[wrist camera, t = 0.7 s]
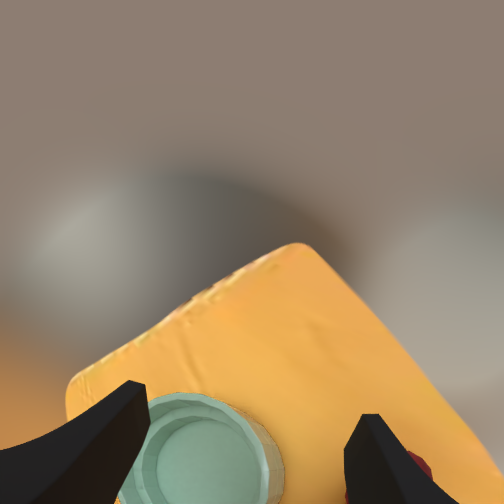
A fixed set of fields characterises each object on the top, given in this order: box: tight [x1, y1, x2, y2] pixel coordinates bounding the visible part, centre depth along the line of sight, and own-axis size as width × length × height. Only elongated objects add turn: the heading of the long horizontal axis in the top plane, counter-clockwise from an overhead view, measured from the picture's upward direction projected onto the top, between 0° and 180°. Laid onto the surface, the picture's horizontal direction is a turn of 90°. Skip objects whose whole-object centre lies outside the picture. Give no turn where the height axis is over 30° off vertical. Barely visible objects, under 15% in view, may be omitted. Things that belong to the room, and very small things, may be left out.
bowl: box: [117, 392, 285, 504], centre depth 18 cm, size 13×13×5 cm
